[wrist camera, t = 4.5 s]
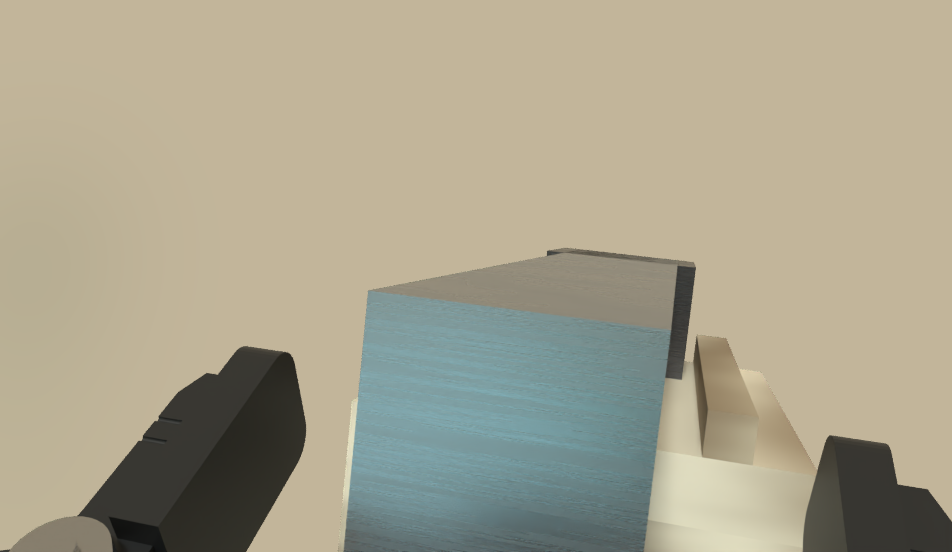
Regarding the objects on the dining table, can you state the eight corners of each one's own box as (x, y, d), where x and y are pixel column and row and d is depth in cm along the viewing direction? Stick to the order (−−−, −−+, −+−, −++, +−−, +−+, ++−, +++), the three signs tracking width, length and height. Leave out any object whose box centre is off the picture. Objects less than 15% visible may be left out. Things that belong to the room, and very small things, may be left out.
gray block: (681, 358, 31) (693, 262, 31) (683, 650, 9) (723, 336, 9) (555, 341, 32) (566, 247, 32) (298, 567, 10) (324, 284, 10)
